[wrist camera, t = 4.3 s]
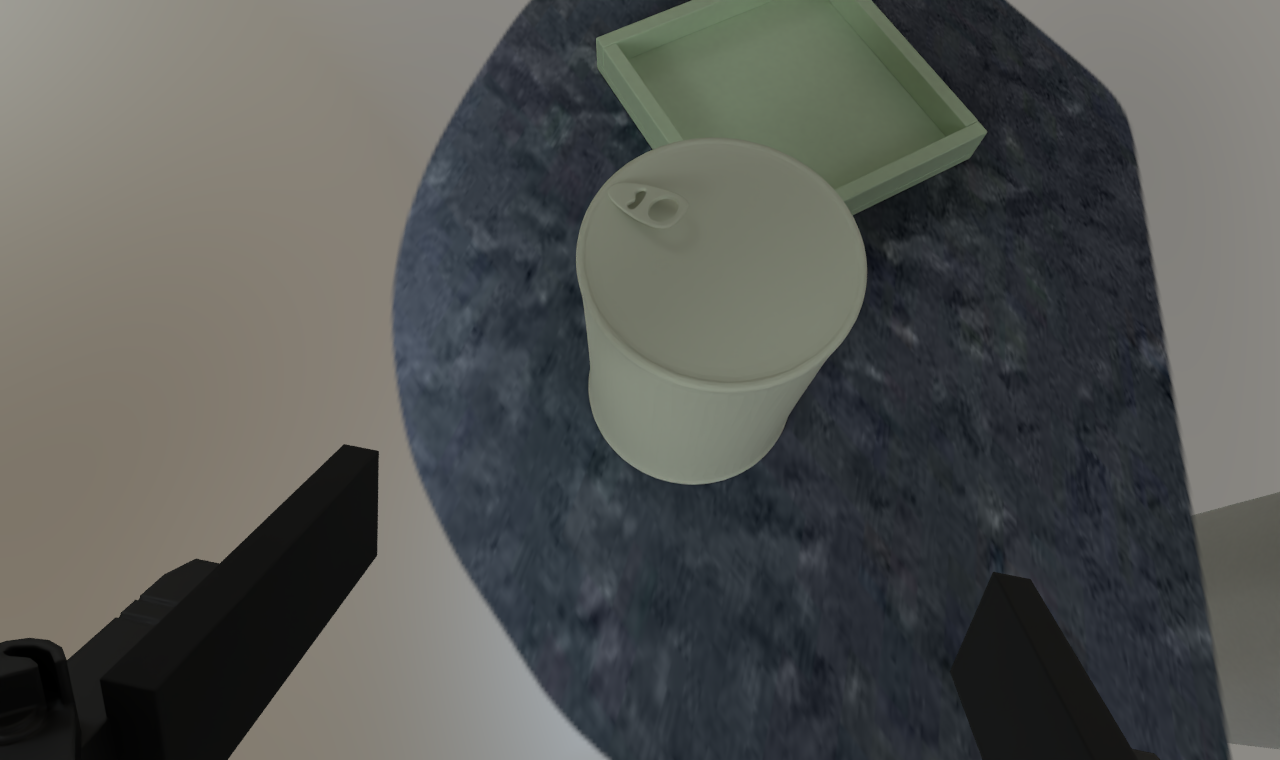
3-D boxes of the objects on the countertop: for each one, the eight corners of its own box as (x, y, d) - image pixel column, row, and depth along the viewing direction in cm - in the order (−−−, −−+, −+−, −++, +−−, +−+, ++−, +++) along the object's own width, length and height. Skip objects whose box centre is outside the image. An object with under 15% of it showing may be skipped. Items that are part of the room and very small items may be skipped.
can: (660, 264, 36) (679, 81, 25) (825, 362, 34) (926, 213, 23) (548, 411, 33) (510, 278, 22) (722, 526, 31) (779, 447, 20)
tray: (969, 158, 39) (988, 131, 37) (736, 272, 36) (742, 249, 34) (815, -20, 43) (824, -53, 41) (596, 68, 40) (595, 37, 38)
